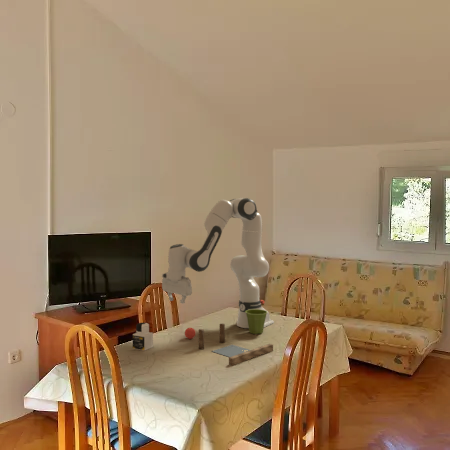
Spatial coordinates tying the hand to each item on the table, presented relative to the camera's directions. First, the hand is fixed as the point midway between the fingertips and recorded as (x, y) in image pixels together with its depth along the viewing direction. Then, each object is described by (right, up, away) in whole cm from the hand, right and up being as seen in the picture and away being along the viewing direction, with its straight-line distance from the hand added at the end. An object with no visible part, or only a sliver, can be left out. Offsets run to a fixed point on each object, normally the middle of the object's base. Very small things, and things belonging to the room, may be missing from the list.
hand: (176, 301), depth 262 cm
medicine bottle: (-14, -19, -20) cm, 31 cm away
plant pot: (+42, -17, +6) cm, 46 cm away
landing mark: (+29, -19, -26) cm, 43 cm away
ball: (+7, -15, -5) cm, 18 cm away
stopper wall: (+37, -20, -34) cm, 54 cm away
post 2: (+24, -18, -11) cm, 32 cm away
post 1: (+14, -19, -21) cm, 32 cm away
